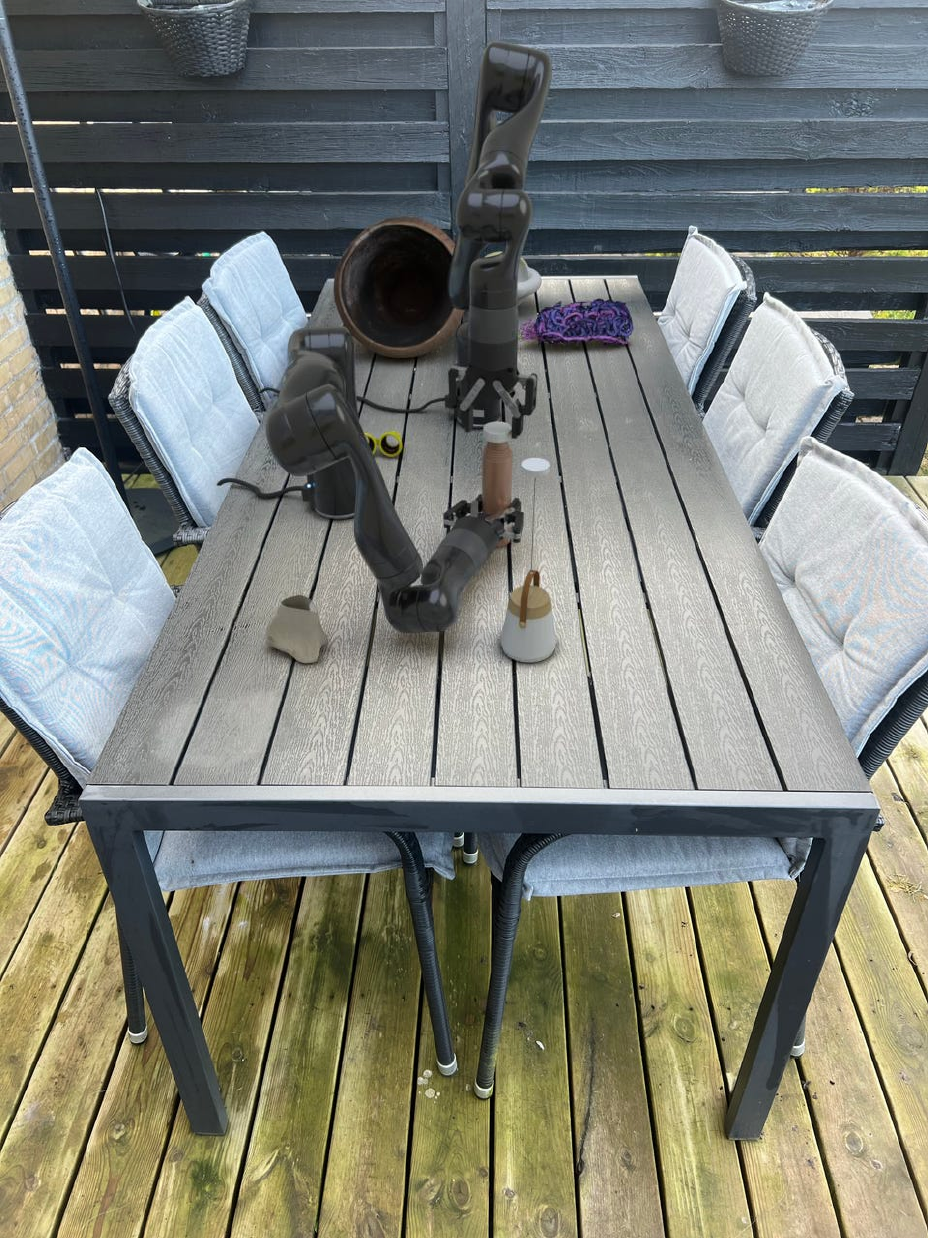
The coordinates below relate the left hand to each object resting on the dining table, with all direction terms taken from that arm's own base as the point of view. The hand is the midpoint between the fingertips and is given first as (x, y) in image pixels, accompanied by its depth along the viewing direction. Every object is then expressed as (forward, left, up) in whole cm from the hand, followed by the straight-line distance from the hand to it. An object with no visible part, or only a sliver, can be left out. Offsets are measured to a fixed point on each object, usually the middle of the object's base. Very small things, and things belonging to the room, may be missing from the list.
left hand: (501, 499), depth 159 cm
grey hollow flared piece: (-17, -42, -7) cm, 46 cm away
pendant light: (+15, -28, -7) cm, 33 cm away
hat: (-39, +106, -7) cm, 113 cm away
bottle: (0, -3, -7) cm, 7 cm away
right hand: (-1, -3, +14) cm, 14 cm away
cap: (0, -3, +14) cm, 15 cm away
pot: (-53, +76, -7) cm, 93 cm away
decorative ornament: (-14, +87, -7) cm, 89 cm away
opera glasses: (-33, +19, -7) cm, 39 cm away
